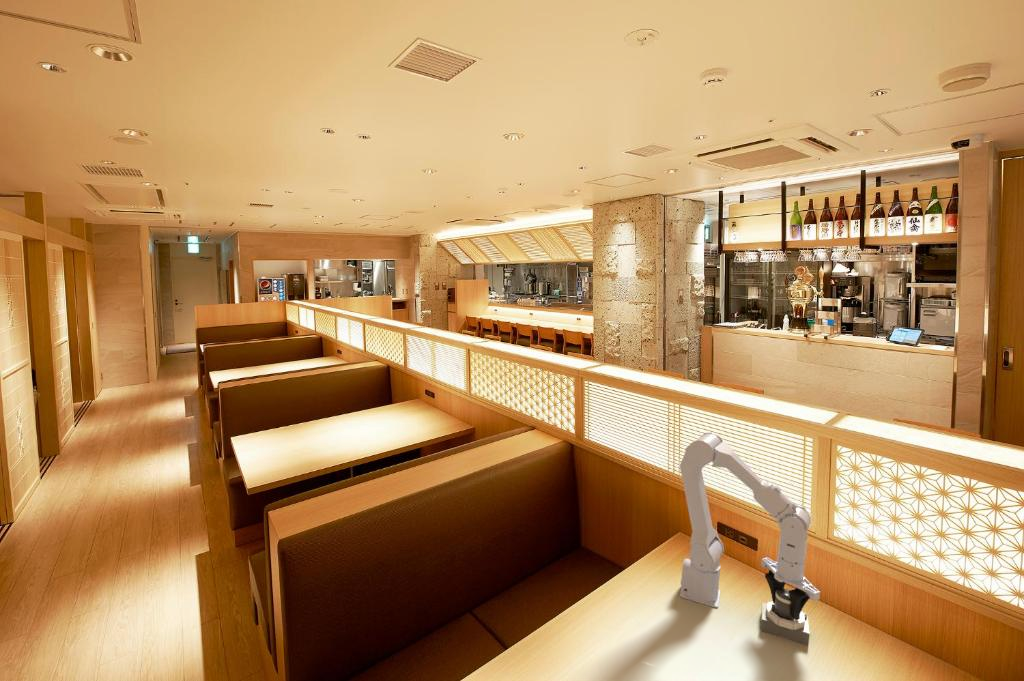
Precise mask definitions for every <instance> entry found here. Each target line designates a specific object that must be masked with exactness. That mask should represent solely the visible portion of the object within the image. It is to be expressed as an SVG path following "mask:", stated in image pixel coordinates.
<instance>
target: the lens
mask: <svg viewBox="0 0 1024 681" xmlns="http://www.w3.org/2000/svg"><path fill="white" fill-rule="evenodd" d="M790 590H791V589H787V588H784V589H783V588H780V589H777V590H776V594H775V595H776V598H775V607H774V613H775V614H776V615H777V616H779V617H780V618H783V619H787V620H790V621H794V618H793V617H791V614H790V610H791V599H790V595H789V591H790Z"/></svg>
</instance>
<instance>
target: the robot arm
mask: <svg viewBox="0 0 1024 681" xmlns="http://www.w3.org/2000/svg"><path fill="white" fill-rule="evenodd" d="M684 451H685V452H684V454H683V456H682V460H681V461H680V465H679V468H680V475H681V480H682V484H683V490H684V494H685V500H686V505H687V509H688V515H689V520H690V525H691V530H692V531H691V536H690V542H689V545H690V551H689V555H688V556H689V558H684V559H683V564H682V569H681V577H680V578H681V579H680V594H679V596H680V598H683V599H686V600H689V601H692V602H696V603H699V604H702V605H706V606H709V607H711V608H715V609H718V608H719V604H720V596H721V590H720V588H719V586H720V576H721V575H720V574H721V563H720V557H722V556H723V554H724V552H725V548H724V547H725V546H724V544H723V542H722V540H721V538H720V537H719V533H718V531H717V529H715V528H714V527H713V526H714V525H713V522H712V516H711V512H710V504H709V501H708V496H707V491H706V486H705V480H704V475H703V468H704V467H705V466H706V465H709V464H710V463H711V462H712V465H711V467H713V468H723V469H726V470H728V471H729V472H730V473H732V474H733V476H735V477H736V478H737V479H738V480H740V481H741V482H742V484H745V486H746V487H747V488H749V490H751V491H752V493H753V499H754V500H755V502H756V503H757V504H758V505H760V506H761V507H762V508H763V509H764V510H765V511H766V512H767V513H768V514H769V515H770V516H771V517H772V518H773V519H774V520H776V522H778V528H779V529H780V536H779V539H778V540H779V541H778V551H777V557H776V558H777V560H776V561H775V560H773V559H771V558H769V557H764V558H761V562H760V563H761V565H760V566H761V567H762V568H765V569H766V568H767V569H768V572H767V573H765V574H764V578H765V579H766V581H767V584H768V587H769V590H770V594H771V598H772V600H771V601H773V603H774V604H775V598H776V595H775V594H776V590H777V589H780V588H783V589H785V585H786V584H788V585H790V586H792V587H794V589H789V590H790V591H789V595H790V599H791V610H790V614H791V617H793V618H795V617H798V616H799V615H800V613H801V611H802V610H803V609H804V606H805V605H806V603H807V602H808V601H809V600H811V601H813V602H814V601H818V600H820V598H821V597H820V595H821V591H819V590H818V589H817V588H816V587H815V586H814V585H813V584H812V583H811V582H810V581H809V580H808V579H807V578H806V576H805V575H804V573H805V564H806V558H807V548H808V542H807V541H808V532H809V531H808V530H809V528H810V525H811V522H812V521H811V520H812V517H811V515H810V513H809V512H808V511H807V510H806V508H805V507H804V506H801V505H799V504H797V503H796V502H792V501H791V499H789V498H788V497H787V496H786V495H785V494H783V493H782V488H781V487H780V486H779V485H774V484H773V483H772V482H768V481H767V482H766V481H763V480H762V479H761V478H760V477H759V476H758V475H757V474H756V473H755V472H754V471H753V470H752V469H751V468H750V467H749V466H748V464H746V463H745V461H744V460H743V459H741V457H740V456H739V455H738V454H737V453H736V452H735V451H734V450H733V448H732V447H731V446H730V444H729V443H728V441H725V440H723V439H722V437H721V436H720V435H719V434H717V433H714V432H709V431H708V432H705V433H703V434H702V435H700V436H699V438H697V439H696V440H694V441H692V442H691V443H690V444H689V445H688V446H687V447H685V449H684Z"/></svg>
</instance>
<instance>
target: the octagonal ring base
mask: <svg viewBox="0 0 1024 681" xmlns="http://www.w3.org/2000/svg"><path fill="white" fill-rule="evenodd" d="M774 607H775V604H774V603H773V600H771V601H768V602H767V603H766V602H762V603H761V612H760V632H765V633H768V634H771V635H774V636H778V637H781V638H784V639H786V640H787V639H788V640H790V641H793V642H797V643H800V644H803V645H806V646H809V643H810V626H809V615H808V613H807V612H805V611H802V610H801V613H800V615H799V616H798V617H795V618H794V621H790V620H787V619H783V618H780V617H779V616H777V615H776V614H775V613H774Z"/></svg>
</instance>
